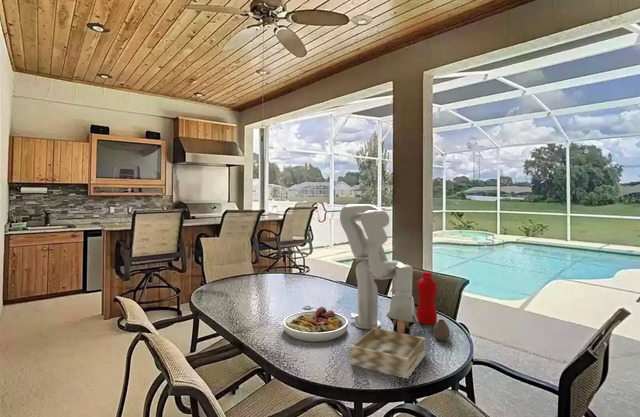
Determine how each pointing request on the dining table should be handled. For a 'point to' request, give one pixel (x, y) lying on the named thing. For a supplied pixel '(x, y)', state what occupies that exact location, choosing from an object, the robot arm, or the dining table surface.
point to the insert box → (388, 352)
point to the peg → (401, 326)
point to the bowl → (315, 325)
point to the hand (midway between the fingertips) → (401, 334)
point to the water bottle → (426, 299)
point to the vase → (441, 331)
